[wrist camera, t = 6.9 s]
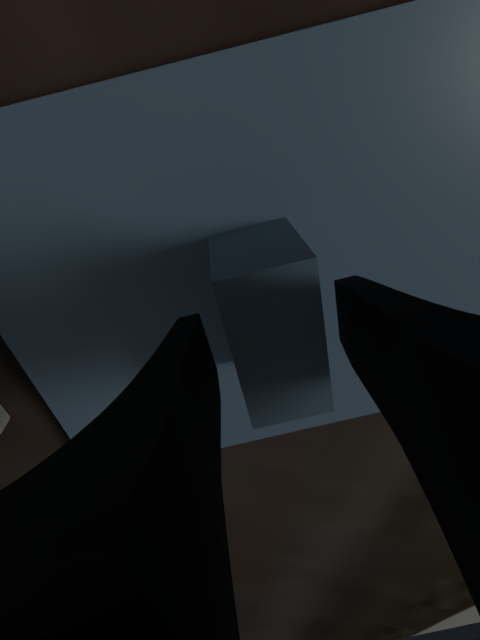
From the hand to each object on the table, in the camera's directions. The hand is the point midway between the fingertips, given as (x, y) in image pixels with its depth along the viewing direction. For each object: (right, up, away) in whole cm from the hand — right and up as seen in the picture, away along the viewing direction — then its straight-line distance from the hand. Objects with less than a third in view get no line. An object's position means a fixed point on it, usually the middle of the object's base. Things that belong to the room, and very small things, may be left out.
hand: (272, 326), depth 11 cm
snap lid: (0, +1, +3) cm, 3 cm away
